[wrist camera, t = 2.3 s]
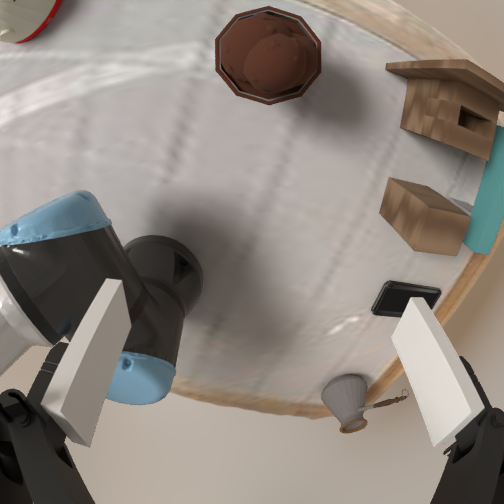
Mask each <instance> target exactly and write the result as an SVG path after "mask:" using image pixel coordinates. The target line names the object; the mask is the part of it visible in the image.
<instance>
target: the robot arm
mask: <svg viewBox="0 0 504 504" xmlns="http://www.w3.org/2000/svg"><path fill="white" fill-rule="evenodd" d="M111 224H112V222H111V220H110V219H108V218H107V216H106V215H105V213H104V211H103V209H102V208H101V206H100V204H99V202H98V201H97V199H96V197H95V196H94V195H93V194H92V193H90V192H88V191H85V190H79V191H75V192H72V193H69V194H67V195H64V196H62V197H60V198H58V199H55V200H53V201H51V202H49V203H47V204H45V205H43V206H41V207H39V208H37V209H35V210H33V211H31V212H29V213H27V214H25V215H23V216H22V217H20V218H18V219H17V220H15V221H13V222H12V223H10V224H8V225H6V226H5V227H3V228H2V229H1V230H0V245H1V244H2V246H1V247H0V376H1V375H2V374H3V373H4V372H5V371H6V370H7V369H8V368H9V367H10V366H11V365H13V364H14V363H15V361H17V360H18V359H19V358H20V357H21V356H22V355H23V354H24V353H25V352H26V351H27V350H28V349H29V348H30V347H32V346H35V345H39V346H45V347H53V346H54V345H55V344H56V343H57V342H59V341H60V340H61V339H62V338H63V337H64V336H65V337H66V338H67V339H68V340H69V342H70V344H68V343H63V342H59V343H58V344H56V345H55V346H54V347H53V348H52V349H51V350H50V352H49V354H48V355H47V357H46V359H45V362H44V363H43V365H42V367H41V371H39V373H38V375H37V377H36V379H35V381H34V383H33V385H32V387H31V389H30V391H29V393H28V395H27V397H25V395H24V394H23V393H22V392H20V391H19V390H16V389H8V390H6V391H4V392H2V393H1V394H0V504H33V503H34V504H95V502H94V500H93V499H92V497H91V495H90V493H89V492H88V490H87V488H86V486H85V484H84V482H83V480H82V478H81V476H80V474H79V472H78V470H77V468H76V466H75V464H74V462H73V459H72V457H71V455H70V453H69V450H68V448H67V446H66V444H65V443H64V441H65V438H66V435H67V437H68V438H69V439H70V440H71V441H72V442H74V443H78V444H81V445H84V446H87V447H90V445H91V442H92V438H93V435H94V432H95V428H96V425H97V422H98V419H99V415H100V412H101V409H102V406H103V403H104V400H105V398H106V399H109V400H112V401H116V402H119V403H124V404H130V405H146V404H152V403H156V402H158V401H160V400H162V399H163V398H165V397H166V395H167V394H168V393H169V391H170V389H171V385H172V382H173V378H174V376H175V374H176V369H175V367H176V361H177V356H178V350H179V345H180V339H181V334H182V329H183V323H184V319H185V317H186V316H187V315H188V313H189V312H190V311H191V310H192V308H193V307H194V306H195V304H196V303H197V301H198V299H199V297H200V294H201V289H202V283H203V275H202V270H201V267H200V265H199V263H198V261H197V259H196V258H195V256H194V255H193V254H192V253H191V252H190V251H189V250H188V249H187V248H186V247H185V246H183V245H182V244H180V243H178V242H177V241H175V240H172V239H170V238H167V237H163V236H155V235H149V236H142V237H139V238H136V239H134V240H132V241H130V242H129V243H128V244H126V245H125V246H124V247H123V246H122V244H121V243H120V241H119V239H118V237H117V235H116V233H115V231H114V229H113V227H112V225H111ZM391 339H392V342H393V344H394V346H395V348H396V351H397V353H398V355H399V358H400V360H401V362H402V365H403V367H404V370H405V372H406V374H407V377H408V379H409V382H410V384H411V387H412V389H413V392H414V394H415V397H416V400H417V402H418V405H419V408H420V410H421V413H422V416H423V418H424V421H425V424H426V427H427V430H428V433H429V435H430V439H431V441H432V444H433V447H436V446H439V445H443V444H445V443H447V442H449V441H450V440H451V439H452V438H453V437H454V436H455V438H456V442H454V443H453V444H452V445H451V446H450V447H448V448H447V449H446V450H445V451H444V453H443V454H444V455H445V454H446V453H447V452H449V451H450V450H451V452H450V454H448V455H447V456H448V457H449V458H448V461H447V463H446V466H445V469H444V472H443V474H442V477H441V480H440V482H439V484H438V487H437V489H436V492H435V494H434V496H433V498H432V501H431V503H430V504H504V412H503V411H502V410H501V409H499V408H492V406H491V405H490V403H489V400H488V398H487V396H486V394H485V392H484V390H483V388H482V386H481V384H480V382H478V379H477V377H476V375H474V371H473V369H472V368H471V366H470V364H469V363H468V362H467V361H466V360H465V359H464V358H463V357H462V356H458V355H457V353H456V351H455V349H454V347H453V346H452V344H451V342H450V340H449V339H448V337H447V335H446V334H445V332H444V330H443V329H442V327H441V325H440V324H439V322H438V320H437V319H436V317H435V315H434V314H433V312H432V311H431V309H430V307H429V306H428V304H427V303H426V301H425V300H424V298H423V297H411V298H410V300H409V302H408V304H407V307H406V309H405V311H404V313H403V315H402V317H401V319H400V321H399V323H398V325H397V327H396V329H395V331H394V333H393V335H392V337H391ZM32 500H33V501H32Z"/></svg>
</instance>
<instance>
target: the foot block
mask: <svg viewBox="0 0 504 504" xmlns="http://www.w3.org/2000/svg"><path fill="white" fill-rule="evenodd" d="M379 213H380V214H381V216H382V217H383V218H384V219H385V220H386V221H387V222H388V223H389V224H390V225H391V226H392V227H393V228H394V229H395V230H396V231H397V232H398V234H399V235H400V236H401V237H402V238H403V239H404V240H405V241H406V242H407V243H408V244H409V246H410V247H411V248H412V249H413V250H414V251H418V252H426V253H435V254H443V255H451V256H457V254H458V251H459V249H460V247H461V244H462V242H463V239H464V236H465V234H466V231H467V229H468V226H469V223H470V220H471V218H472V217H471V216H469V215H468V214H467V213H465V212H464V211H463V210H461V209H460V208H458V207H457V206H456V205H454V204H453V203H452V202H450V201H449V200H447V199H446V198H444V197H443V196H441V195H440V194H439V193H437V192H436V191H434V190H433V189H431V188H430V187H428V186H424V185H420V184H416V183H411V182H407V181H403V180H399V179H394V178H390V177H389V179H388V182H387V186H386V190H385V194H384V197H383V201H382V205H381V208H380V212H379Z"/></svg>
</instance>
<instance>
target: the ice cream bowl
mask: <svg viewBox="0 0 504 504" xmlns="http://www.w3.org/2000/svg"><path fill="white" fill-rule="evenodd" d="M215 66H216V72H217V73H218V74H219V75H220V76H221V77H222V79H223V80H224V81H225V82H226V83H227V85H228V86H229V87H230V88H231V90H232V91H233V92H234V93H235V95H236V96H240V97H243V98H247V99H250V100H254V101H257V102H260V103H263V104H267V105H272V104H275V103H279V102H282V101H286V100H290V99H293V98H297V97H301V96H302V95H303V94H304V93H305V91H306V90H307V89H308V88H309V86H310V85H311V84H312V83H313V82H314V80H315V79H316V78H317V77H318V75H319V74H320V73H321V41H320V40H319V39H318V37H317V36H316V35H315V33H314V32H313V31H312V30H311V28H310V27H309V26H308V24H307V23H306V22H305V21H304V19H303V18H302V17H301V16H298V15H295V14H292V13H289V12H286V11H283V10H280V9H277V8H273V7H270V6H267V7H263V8H259V9H255V10H251V11H247V12H243V13H240V14H236V15H235V16H234V17H233V18H232V20H231V21H230V22H229V23H228V24H227V25H226V27H225V28H224V29H223V30H222V32H221V33H220V34H219V35H218V37H217V38H216V39H215Z"/></svg>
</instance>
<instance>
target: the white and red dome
mask: <svg viewBox="0 0 504 504" xmlns="http://www.w3.org/2000/svg"><path fill="white" fill-rule="evenodd" d="M61 1H62V0H0V41H3V42H7V43H22V42H25V41H28V40H30V39H31V38H33V37H35V36H36V35H38V34H39V33H40V32H41V31H42V30H43V29H44V28H45V27H46V26H47V25H48V23H49V22H50V21H51V19H52V18H53V17H54V15H55V13H56V12H57V10H58V8H59V6H60V4H61Z"/></svg>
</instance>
